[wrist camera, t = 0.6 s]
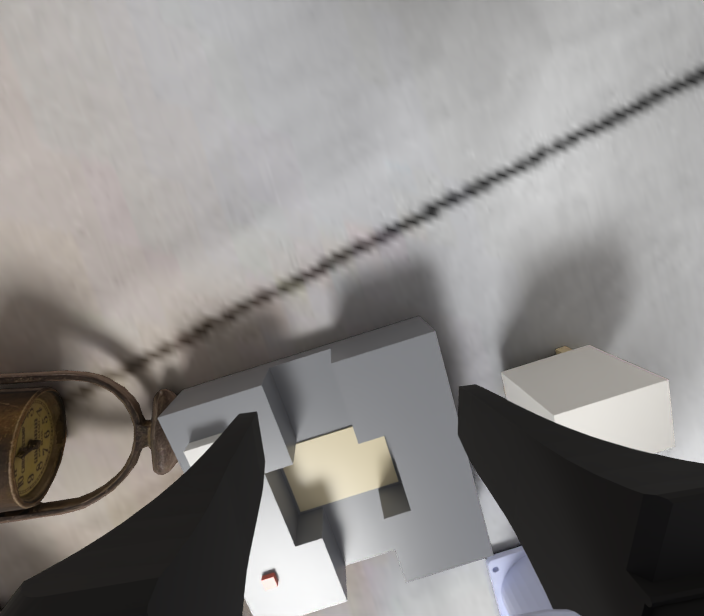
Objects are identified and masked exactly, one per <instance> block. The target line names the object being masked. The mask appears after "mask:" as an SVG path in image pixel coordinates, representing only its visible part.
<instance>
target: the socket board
mask: <svg viewBox="0 0 704 616" xmlns="http://www.w3.org/2000/svg"><path fill="white" fill-rule="evenodd" d="M256 411H257V414H258V420H259V426H260V432H261V438H262V444H263V450H264V456H265V472H264V484H263V492H262V497H261V502H260V507H259V513H258V517H257V522H256V527H255V532H254V537H253V542H252V547H251V551H250V556H249V562H248V568H247V575H246V584H245V593H244V598H245V600H246V602H247V604H248V606H249V608H250V610H251V613H252V615H253V616H302V615H305V614H308V613H311V612H315V611H318V610H321V609H324V608H327V607H331V606H334V605H337V604H340V603H343V602H347V587H346V569H345V566H346V565H349V564H352V563H356V562H359V561H362V560H365V559H368V558H372V557H375V556H378V555H381V554H384V553H387V552H391V551H394V550H395V553H396V556H397V559H398V562H399V564H400V567H401V570H402V573H403V576H404V579H405V582H406V583H407V582H411V581H414V580H417V579H420V578H423V577H426V576H430V575H433V574H436V573H439V572H442V571H446V570H449V569H452V568H455V567H458V566H462V565H465V564H468V563H471V562H474V561H478V560H481V559H484V558H487V557H490V556H494V555H493V551H492V547H491V543H490V540H489V536H488V532H487V528H486V524H485V520H484V516H483V513H482V509H481V505H480V501H479V497H478V493H477V489H476V485H475V482H474V478H473V474H472V470H471V466H470V462H469V458H468V456H467V454H466V452H465V450H464V448H463V445H462V443H461V441H460V439H459V437H458V416H457V412H456V408H455V404H454V401H453V397H452V393H451V389H450V385H449V381H448V377H447V374H446V370H445V366H444V362H443V358H442V354H441V350H440V346H439V343H438V339H437V335H436V331H435V330H434V329H433V328H432V327H431V326H430V325H429V324H428V323H426V322H425V321H424V320H423V319H422V318H421V317H420V316H417V317H414V318H411V319H407V320H404V321H401V322H398V323H395V324H391V325H388V326H385V327H382V328H379V329H375V330H372V331H369V332H366V333H363V334H359V335H356V336H353V337H350V338H347V339H343V340H340V341H337V342H334V343H331V344H327V345H324V346H321V347H318V348H315V349H312V350H308V351H305V352H302V353H299V354H296V355H292V356H289V357H286V358H283V359H280V360H276V361H273V362H270V363H267V364H264V365H260V366H257V367H254V368H251V369H248V370H244V371H241V372H238V373H235V374H232V375H228V376H225V377H222V378H219V379H216V380H212V381H209V382H206V383H203V384H200V385H196V386H193V387H190V388H187V389H184V390H182V391H181V392H180V393H179V395H178V396H177V397H176V398H175V399H174V400H173V401H172V402H171V403H170V404H169V406H168V407H167V408H166V409H165V410H164V411H163V412H162V413H161V414H160V416H159V417H158V420H159V422H160V424H161V426H162V429H163V431H164V433H165V435H166V437H167V439H168V441H169V443H170V445H171V447H172V449H173V451H174V453H175V455H176V457H177V460H178V462H179V464H180V466H181V468H182V470H183V472H184V473H185V472H186V471H187V470H188V469H189V468H190V467H191V466H192V465H193V464H194V463H195V462H196V461H197V460H198V459H199V458H200V457H201V456H202V455H203V454H204V453H205V452H206V451H207V450H208V449H209V447H210V446H211V445H212V444H213V443H214V442H215V441H216V440H217V438H218V437H219V436H220V435H221V434H222V433H223V432H224V430H225V429H226V428H227V427H228V426H229V424H230V423H231V422H232V421H233V420H234V419H235V418H236V417H237V415H238V414H240V413H248V412H256Z"/></svg>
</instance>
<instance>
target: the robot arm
mask: <svg viewBox="0 0 704 616" xmlns="http://www.w3.org/2000/svg"><path fill="white" fill-rule="evenodd" d="M458 437H459V439H460V441H461V443H462V445H463V448H464V450H465V452H466V454H467V456H468V458H469V460H470V461H471V463H472V465H473V466H474V468H475V469H476V471H477V473H478V474H479V476H480V477H481V479H482V480H483V482H484V484H485V485H486V487H487V488H488V490H489V491H490V493H491V494H492V496H493V497H494V499H495V500H496V502H497V504H498V505H499V507H500V508H501V510H502V511H503V513H504V514H505V516H506V518H507V519H508V521H509V523H510V524H511V526H512V528H513V530H514V531H515V533H516V535H517V537H518V539H519V541H520V543H521V545H522V546H519V547H516V548H513V549H510V550H507V551H503V552H500V553H497V554H494V556H490V557H488V558H487V559H486V565H487V568H488V572H489V576H490V580H491V583H492V587H493V591H494V595H495V598H496V602H497V606H498V610H499V613H500V616H704V464H703V463H697V462H691V461H685V460H680V459H675V458H670V457H666V456H661V455H657V454H652V453H648V452H644V451H640V450H636V449H632V448H628V447H625V446H622V445H618V444H615V443H611V442H608V441H605V440H601V439H598V438H595V437H592V436H589V435H587V434H584V433H581V432H578V431H576V430H573V429H570V428H567V427H565V426H562V425H560V424H558V423H555V422H553V421H551V420H548V419H546V418H544V417H542V416H539V415H537V414H535V413H533V412H531V411H529V410H527V409H524V408H522V407H520V406H518V405H516V404H514V403H512V402H510V401H508V400H506V399H505V398H503V397H501V396H499V395H497V394H495V393H493V392H491V391H489V390H487V389H485V388H482V387H480V386H478V385H467V386H459V403H458ZM264 472H265V456H264V450H263V444H262V438H261V432H260V426H259V420H258V414H257V411H256V412H248V413H240V414H238V415H237V417H236V418H235V419H234V420H233V421H232V422H231V423H230V424H229V426H228V427H227V428H226V429H225V430H224V432H223V433H222V434H221V435H220V436H219V437H218V438H217V440H216V441H215V442H214V443H213V444H212V445H211V446H210V447H209V449H208V450H207V451H206V452H205V453H204V454H203V455H202V456H201V457H200V458H199V459H198V460H197V461H196V462H195V463H194V464H193V465H192V466H191V467H190V468H189V469H188V470H187V471H186V472H185V473H184V474H183V475H182V476H181V477H180V478H179V479H178V480H176V481H175V482H174V483H173V484H172V485H171V486H170V487H168V488H167V489H166V490H165V491H164V492H162V493H161V494H160V495H159V496H158V497H156V498H155V499H154V500H153V501H151V502H150V503H149V504H147V505H146V506H145V507H143V508H142V509H141V510H139V511H138V512H137V513H135V514H134V515H133V516H131V517H130V518H128V519H127V520H126V521H124V522H123V523H122V524H120V525H119V526H117V527H116V528H114V529H113V530H111V531H110V532H108V533H107V534H105V535H104V536H102V537H100V538H99V539H97V540H96V541H94V542H93V543H91V544H89V545H88V546H86V547H85V548H83V549H81V550H80V551H78V552H76V553H75V554H73V555H71V556H69V557H68V558H66V559H64V560H62V561H60V562H59V563H57V564H55V565H53V566H52V567H50V568H48V569H46V570H44V571H43V572H41V573H39V574H37V575H36V576H34V577H32V578H30V579H28V580H26V581H24V582H23V583H22V585H21V586H20V587H19V588H18V590H17V591H16V592H15V594H14V595H13V596H12V598H11V599H10V600H9V602H8V603H7V605H6V606H5V607H4V609H3V610H2V611H1V613H0V616H242V611H243V602H244V593H245V584H246V575H247V568H248V562H249V556H250V551H251V547H252V542H253V537H254V532H255V527H256V522H257V517H258V513H259V507H260V502H261V497H262V492H263V484H264Z"/></svg>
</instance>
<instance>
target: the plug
mask: <svg viewBox="0 0 704 616" xmlns="http://www.w3.org/2000/svg"><path fill="white" fill-rule="evenodd" d="M555 350H556V355H554V356H551V357H548V358H544V359H541V360H538V361H535V362H532V363H528V364H525V365H522V366H519V367H516V368H513V369H509V370H506V371H503V372H501V375H502V380H503V384H504V386H503V387H504V391H505V395H506V398H507V400H508V401H510V402H512V403H514V404H516V405H518V406H520V407H522V408H524V409H527V410H529V411H531V412H533V413H535V414H537V415H539V416H542V417H544V418H546V419H548V420H551V421H553V422H555V423H558V424H560V425H562V426H565V427H567V428H570V429H573V430H576V431H578V432H581V433H584V434H587V435H589V436H592V437H595V438H598V439H601V440H605V441H608V442H611V443H615V444H618V445H622V446H625V447H628V448H632V449H636V450H640V451H644V452H648V453H652V454H655V453H658V452H661V451H664V450H667V449H671V448H674V447H675V439H674V429H673V419H672V409H671V399H670V389H669V380H668V379H666V378H664V377H662V376H659V375H657V374H655V373H652V372H650V371H648V370H646V369H643V368H641V367H639V366H636V365H634V364H632V363H630V362H627V361H625V360H623V359H620V358H618V357H616V356H614V355H611V354H609V353H607V352H605V351H602V350H600V349H598V348H595V347H593V346H591V345H586V346H583V347H580V348H576V349H573V350H572V349H570V348H568V347H566V346H564V347H561V348H558V349H555Z"/></svg>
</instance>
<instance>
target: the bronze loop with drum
mask: <svg viewBox="0 0 704 616" xmlns="http://www.w3.org/2000/svg"><path fill="white" fill-rule="evenodd" d="M66 380H75V381H85V382H90V383H93V384H95V385H98V386H101V387H103V388H105V389H107V390H108V391H110V392H112V393H113V394H114V395H115V396H116V397H117V398H118V399H119V400H120V401H121V402H122V403H123V404H124V405H125V407H126V409H127V410H128V412H129V414H130V415H131V419H132V422H133V426H134V441H133V446H132V451H131V454H130V456H129V458H128V460H127V462H126V464H125V466H124V467H123V468H122V470H121V471H120V472H119V473H118V474H117V475H116V476H115V477H114V478H112V479H111V480H110V481H109V482H107V483H106V484H105V485H103V486H102V487H100V488H98V489H96V490H95V491H93V492H91V493H89V494H86V495H84V496H81V497H79V498H72V499H66V500H60V501H53V502H46V503H42V502H40V501H41V500H42V499H43V498H44V496H45V495H46V493H47V492H48V490H49V488H50V486H51V484H52V482H53V480H54V478H55V476H56V474H57V471H58V468H59V466H60V463H61V460H62V456H63V451H64V447H65V442H66V418H65V408H64V405H63V402H62V399H61V397H60V395H59V393H58V392H57V390H55V389H52V388H50V387H33V388H12V389H0V523H7V522H14V521H20V520H27V519H33V518H40V517H46V516H54V515H61V514H65V513H69V512H73V511H76V510H80V509H83V508H86V507H87V506H89V505H91V504H93V503H95V502H97V501H98V500H100V499H101V498H103V497H104V496H106V495H107V494H109V493H110V492H112V491H113V490H114V489H115V488H116V487H117V486H118V485H119V484H120V483H121V482H122V481H123V480H124V479H125V478H126V477H127V476H128V474H129V473H130V472H131V470H132V469H133V468H134V466H135V465H136V464H137V461H138V459H139V456H140V453H141V451H142V449H143V448H144V447H147V446H148V447H149V448H150V449H151V453H152V464H153V470H154V472H155V473H157V474H158V475H164V474H166V473H168V472H169V471H170V470H171V469H172V468H173V467H174V465H175V464H176V463H177V462H178V460H177V457H176V455H175V453H174V451H173V449H172V447H171V445H170V443H169V441H168V439H167V437H166V435H165V433H164V431H163V429H162V426H161V424H160V422H159V420H158V417H159V416H160V414H161V413H162V412H163V411H164V410H165V409H166V408H167V407H168V406H169V404H170V403H171V402H172V401H173V400H174V399H175V398H176V397H177V395H176V394H175V393H174V392H173V391H170V390H168V389H161V390H160V391H159V392H158V393H157V394H156V395H155V397H154V400H153V411H152V419H151V420H146V419H145V418H144V416H143V414H142V412H141V409H140V405H139V403H138V402H137V400H136V399H135V397H134V396H133V395H131V394H130V393H129V392H128V390H127V389H126V388H125V387H123V386H121V385H120V384H118V383H116V382H115V381H113V380H111V379H110V378H107V377H105V376H103V375H99V374H95V373H90V372H81V371H68V370H63V371H49V372H30V373H7V374H0V385H2V384H16V383H31V382H46V381H66Z"/></svg>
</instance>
